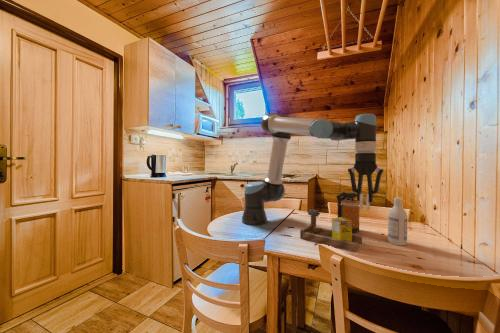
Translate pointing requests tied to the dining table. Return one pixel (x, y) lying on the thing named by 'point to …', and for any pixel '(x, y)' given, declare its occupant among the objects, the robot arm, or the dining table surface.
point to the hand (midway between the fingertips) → (364, 209)
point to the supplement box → (342, 229)
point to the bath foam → (397, 224)
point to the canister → (349, 209)
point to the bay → (308, 230)
